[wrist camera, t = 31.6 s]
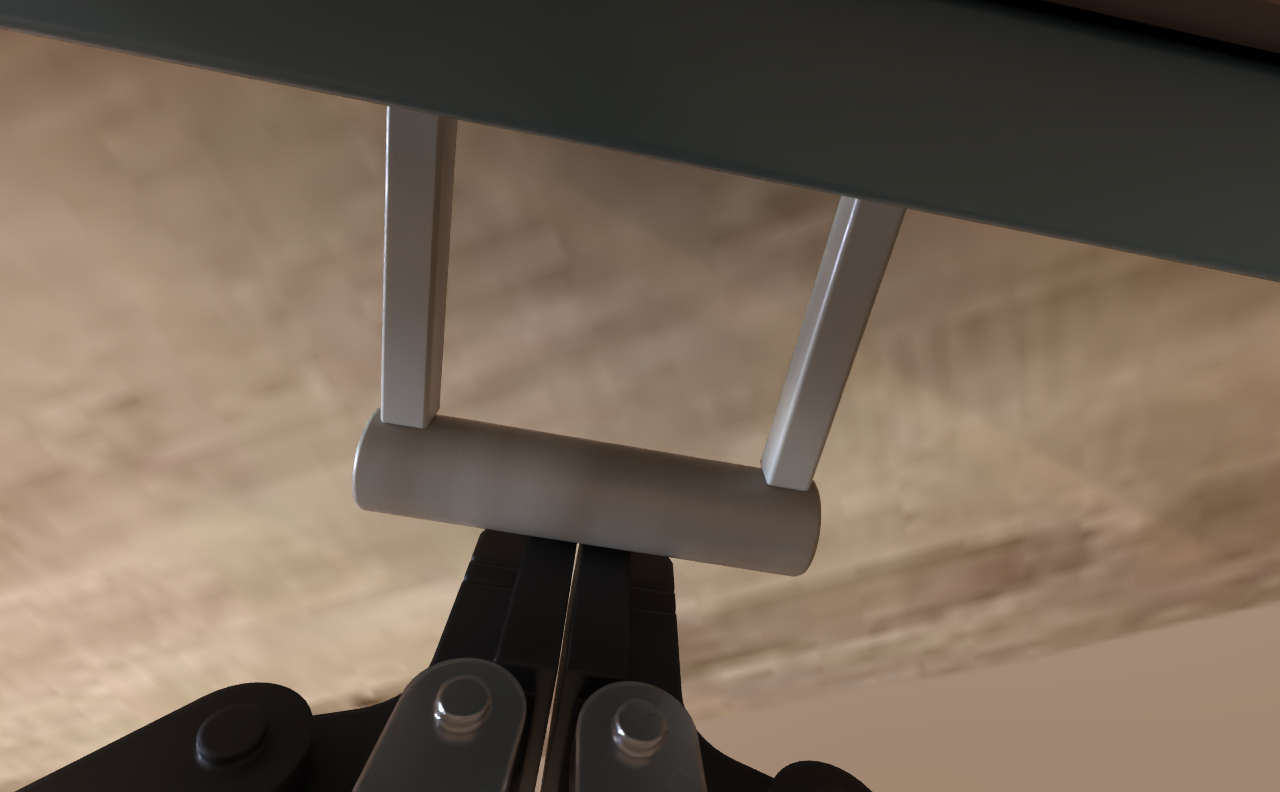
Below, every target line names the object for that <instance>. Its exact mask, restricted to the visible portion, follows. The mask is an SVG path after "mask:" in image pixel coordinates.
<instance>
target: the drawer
mask: <svg viewBox="0 0 1280 792" xmlns="http://www.w3.org/2000/svg"><path fill="white" fill-rule="evenodd" d="M1001 1H1002V0H0V29H4V30H9V31H14V32H19V33H24V34H29V35H34V36H39V37H44V38H49V39H54V40H59V41H64V42H69V43H74V44H79V45H84V46H89V47H94V48H99V49H104V50H110V51H115V52H120V53H125V54H130V55H135V56H140V57H145V58H150V59H155V60H160V61H165V62H170V63H175V64H180V65H185V66H190V67H195V68H200V69H205V70H210V71H215V72H221V73H226V74H231V75H236V76H241V77H246V78H251V79H256V80H261V81H266V82H271V83H276V84H281V85H286V86H291V87H296V88H301V89H306V90H311V91H316V92H321V93H327V94H332V95H337V96H342V97H347V98H352V99H357V100H362V101H367V102H372V103H377V104H382V105H387V121H386V171H385V222H384V272H383V322H382V373H381V408H378V409H377V410H376V411H375V412H374V413H373V414H372V415H371V417H370V418H369V420H368V422H367V424H366V426H365V428H364V430H363V432H362V435H361V437H360V440H359V443H358V446H357V450H356V454H355V459H354V464H353V473H352V491H353V498H354V501H355V503H356V505H357V506H358V507H360V508H361V509H363V510H367V511H373V512H380V513H386V514H393V515H399V516H406V517H412V518H419V519H425V520H432V521H438V522H445V523H451V524H457V525H464V526H470V527H477V528H483V529H490V530H496V531H503V532H509V533H516V534H522V535H529V536H535V537H542V538H548V539H555V540H561V541H568V542H574V543H580V544H587V545H593V546H600V547H606V548H613V549H619V550H626V551H632V552H639V553H645V554H652V555H658V556H665V557H671V558H678V559H684V560H690V561H697V562H703V563H710V564H716V565H723V566H729V567H736V568H742V569H749V570H755V571H762V572H768V573H775V574H781V575H788V576H799V575H802V574H803V573H805V572H806V570H807V569H808V568H809V566H810V564H811V562H812V560H813V558H814V555H815V552H816V548H817V544H818V540H819V534H820V526H821V503H820V496H819V491H818V488H817V486H816V484H815V482H814V481H813V480H812V479H813V477H814V474H815V471H816V468H817V465H818V462H819V459H820V456H821V454H822V451H823V448H824V445H825V442H826V439H827V436H828V433H829V431H830V428H831V425H832V422H833V419H834V416H835V413H836V410H837V408H838V405H839V402H840V399H841V396H842V393H843V390H844V387H845V385H846V382H847V379H848V376H849V373H850V370H851V367H852V364H853V362H854V359H855V356H856V353H857V350H858V347H859V344H860V341H861V338H862V336H863V333H864V330H865V327H866V324H867V321H868V318H869V315H870V313H871V310H872V307H873V304H874V301H875V298H876V295H877V292H878V290H879V287H880V284H881V281H882V278H883V275H884V272H885V269H886V267H887V264H888V261H889V258H890V255H891V252H892V249H893V246H894V244H895V241H896V238H897V235H898V232H899V229H900V226H901V223H902V221H903V218H904V215H905V212H906V209H912V210H917V211H922V212H927V213H932V214H937V215H942V216H947V217H952V218H957V219H962V220H967V221H972V222H977V223H982V224H988V225H993V226H998V227H1003V228H1008V229H1013V230H1018V231H1023V232H1028V233H1033V234H1038V235H1043V236H1048V237H1053V238H1058V239H1063V240H1068V241H1073V242H1078V243H1083V244H1088V245H1094V246H1099V247H1104V248H1109V249H1114V250H1119V251H1124V252H1129V253H1134V254H1139V255H1144V256H1149V257H1154V258H1159V259H1164V260H1169V261H1174V262H1179V263H1184V264H1189V265H1194V266H1199V267H1205V268H1210V269H1215V270H1220V271H1225V272H1230V273H1235V274H1240V275H1245V276H1250V277H1255V278H1260V279H1265V280H1270V281H1275V282H1280V64H1278V63H1273V62H1269V61H1264V60H1260V59H1255V58H1251V57H1246V56H1242V55H1237V54H1233V53H1228V52H1224V51H1220V50H1215V49H1211V48H1206V47H1202V46H1197V45H1193V44H1188V43H1184V42H1179V41H1175V40H1170V39H1166V38H1161V37H1157V36H1153V35H1148V34H1144V33H1139V32H1135V31H1130V30H1126V29H1121V28H1117V27H1112V26H1108V25H1103V24H1099V23H1095V22H1090V21H1086V20H1081V19H1077V18H1072V17H1068V16H1063V15H1059V14H1054V13H1050V12H1045V11H1041V10H1036V9H1032V8H1028V7H1023V6H1019V5H1014V4H1010V3H1005V2H1001ZM457 119H458V120H463V121H468V122H473V123H478V124H483V125H488V126H493V127H498V128H503V129H508V130H513V131H518V132H523V133H528V134H533V135H538V136H543V137H549V138H554V139H559V140H564V141H569V142H574V143H579V144H584V145H589V146H594V147H599V148H604V149H609V150H614V151H619V152H624V153H629V154H634V155H639V156H644V157H649V158H654V159H660V160H665V161H670V162H675V163H680V164H685V165H690V166H695V167H700V168H705V169H710V170H715V171H720V172H725V173H730V174H735V175H740V176H745V177H750V178H755V179H760V180H766V181H771V182H776V183H781V184H786V185H791V186H796V187H801V188H806V189H811V190H816V191H821V192H826V193H831V194H836V195H841V198H840V202H839V205H838V208H837V211H836V215H835V218H834V221H833V225H832V228H831V231H830V234H829V238H828V241H827V244H826V248H825V251H824V254H823V258H822V261H821V264H820V267H819V271H818V274H817V277H816V281H815V284H814V287H813V290H812V294H811V297H810V300H809V304H808V307H807V310H806V313H805V317H804V320H803V323H802V327H801V330H800V333H799V336H798V340H797V343H796V346H795V350H794V353H793V356H792V359H791V363H790V366H789V369H788V373H787V376H786V379H785V382H784V386H783V389H782V392H781V396H780V399H779V402H778V406H777V409H776V412H775V415H774V419H773V422H772V425H771V429H770V432H769V435H768V438H767V442H766V445H765V448H764V452H763V455H762V458H761V461H760V462H761V467H762V468H757V467H751V466H745V465H739V464H733V463H726V462H720V461H714V460H708V459H702V458H696V457H690V456H684V455H678V454H672V453H666V452H660V451H654V450H648V449H642V448H636V447H630V446H624V445H618V444H612V443H606V442H600V441H594V440H588V439H582V438H576V437H570V436H564V435H558V434H552V433H546V432H540V431H534V430H528V429H522V428H516V427H510V426H504V425H498V424H492V423H486V422H479V421H473V420H467V419H461V418H455V417H449V416H443V415H437V414H436V413H437V412H438V410H439V407H440V391H441V375H442V359H443V343H444V327H445V311H446V294H447V278H448V262H449V246H450V230H451V214H452V198H453V181H454V165H455V149H456V133H457Z"/></svg>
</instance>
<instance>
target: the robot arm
mask: <svg viewBox="0 0 1280 792" xmlns="http://www.w3.org/2000/svg"><path fill="white" fill-rule="evenodd" d="M576 546H577V543H574V542H568V541H561V540H555V539H548V538H542V537H535V536H529V535H522V534H516V533H509V532H503V531H496V530H490V529H486V530H484V531H483V532H482V533H481V534H480V537H479V539H478V542H477V545H476V547H475V550H474V553H473V555H472V559H471V562H470V563H469V566H468V568H467V571H466V573H465V576H464V581H463V582H462V584H461V587H460V589H459V592H458V594H457V597H456V600H455V602H454V605H453V607H452V610H451V613H450V615H449V618H448V621H447V623H446V626H445V628H444V631H443V634H442V636H441V639H440V642H439V644H438V647H437V649H436V652H435V655H434V657H433V659H432V662H431V664H430V666H429V667H428V668H427V669H425V670H424V671H422V672H421V673H419V674H418V675H417V676H416V677H415V678H413V680H412V681H411V682H410V683H409V684H408V685H407V686H406V688H405V689H404V691H403V693H401V694H399V695H398V696H396V697H394V698H392V699H390V700H387V701H385V702H383V703H380V704H376V705H373V706H370V707H365V708H360V709H354V710H347V711H341V712H334V713H327V714H320V715H313V716H312V713H311V709H310V707H309V706H308V704H307V702H306V701H305V700H304V699H303V698H302V697H301V696H300V695H299V694H298V693H296V692H295V691H293V690H291V689H290V688H287V687H284V686H281V685H277V684H272V683H258V682H256V683H245V684H239V685H234V686H230V687H227V688H224V689H220V690H217V691H215V692H213V693H210V694H208V695H206V696H203V697H201V698H199V699H197V700H196V701H194V702H192V703H190V704H188V705H186V706H184V707H182V708H180V709H178V710H176V711H174V712H172V713H170V714H168V715H166V716H164V717H162V718H160V719H158V720H156V721H154V722H152V723H150V724H148V725H146V726H144V727H142V728H140V729H138V730H136V731H134V732H132V733H130V734H128V735H126V736H124V737H122V738H120V739H118V740H116V741H114V742H112V743H110V744H108V745H106V746H104V747H102V748H100V749H98V750H96V751H94V752H92V753H91V754H89V755H87V756H85V757H83V758H81V759H79V760H77V761H75V762H73V763H71V764H69V765H67V766H65V767H63V768H61V769H59V770H57V771H55V772H53V773H51V774H49V775H47V776H45V777H43V778H41V779H39V780H37V781H35V782H33V783H31V784H29V785H27V786H25V787H23V788H21V789H19V790H17V791H15V792H534V791H535V786H536V781H537V775H538V771H539V766H540V760H541V755H542V750H543V745H544V739H545V734H546V729H547V724H548V718H549V713H550V708H551V703H552V698H553V692H554V687H555V682H556V677H557V671H558V665H559V671H558V677H557V684H556V691H555V698H554V704H553V711H552V718H551V724H550V731H549V738H548V745H547V751H546V758H545V765H544V772H543V778H542V785H541V791H540V792H872V791H871V790H870V789H869V788H867V787H866V786H865V785H864V784H863V783H862V782H861V781H859V780H858V779H856V778H855V777H854V776H852V775H851V774H849V773H848V772H846V771H844V770H842V769H840V768H838V767H835V766H833V765H830V764H827V763H823V762H819V761H799V762H796V763H792V764H790V765H788V766H786V767H785V768H783V769H782V770H781V771H780V772H779V773H778V774H777V775H776V776H775V778H773V777H770V776H768V775H766V774H764V773H762V772H760V771H757V770H755V769H753V768H751V767H749V766H747V765H744V764H742V763H740V762H738V761H736V760H734V759H732V758H730V757H728V756H726V755H724V754H723V753H721V752H720V751H718V750H717V749H716V748H714V747H713V746H712V745H711V744H710V743H708V742H707V741H706V740H705V739H704V738H703V737H702V736H701V735H700V733H699V732H698V731H697V730H696V727H695V725H694V722H693V720H692V718H691V716H690V715H689V713H688V712H687V710H686V709H685V707H684V704H683V699H682V691H681V676H680V662H679V647H678V633H677V618H676V614H675V610H676V603H675V593H674V574H673V563H672V562H671V560H670V559H669V557H665V556H658V555H652V554H645V553H639V552H632V551H626V550H619V549H613V548H606V547H600V546H593V545H587V544H580V543H579V549H578V554H577V559H576V565H575V570H574V575H573V581H572V586H571V579H572V572H573V566H574V559H575V552H576ZM570 586H571V592H570ZM569 592H570V598H569ZM568 599H569V604H568ZM567 606H568V610H567ZM566 612H567V617H566ZM565 619H566V624H565ZM564 625H565V631H564ZM563 632H564V637H563ZM562 639H563V644H562ZM561 645H562V651H561ZM560 652H561V657H560ZM559 659H560V664H559Z"/></svg>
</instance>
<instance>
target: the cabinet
mask: <svg viewBox="0 0 1280 792" xmlns="http://www.w3.org/2000/svg"><path fill="white" fill-rule="evenodd" d="M1001 2H1005V3H1010V4H1014V5H1019V6H1023V7H1028V8H1032V9H1036V10H1041V11H1045V12H1050V13H1054V14H1059V15H1063V16H1068V17H1072V18H1077V19H1081V20H1086V21H1090V22H1095V23H1099V24H1103V25H1108V26H1112V27H1117V28H1121V29H1126V30H1130V31H1135V32H1139V33H1144V34H1148V35H1153V36H1157V37H1161V38H1166V39H1170V40H1175V41H1179V42H1184V43H1188V44H1193V45H1197V46H1202V47H1206V48H1211V49H1215V50H1220V51H1224V52H1228V53H1233V54H1237V55H1242V56H1246V57H1251V58H1255V59H1260V60H1264V61H1269V62H1273V63H1278V64H1280V0H1002V1H1001Z"/></svg>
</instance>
